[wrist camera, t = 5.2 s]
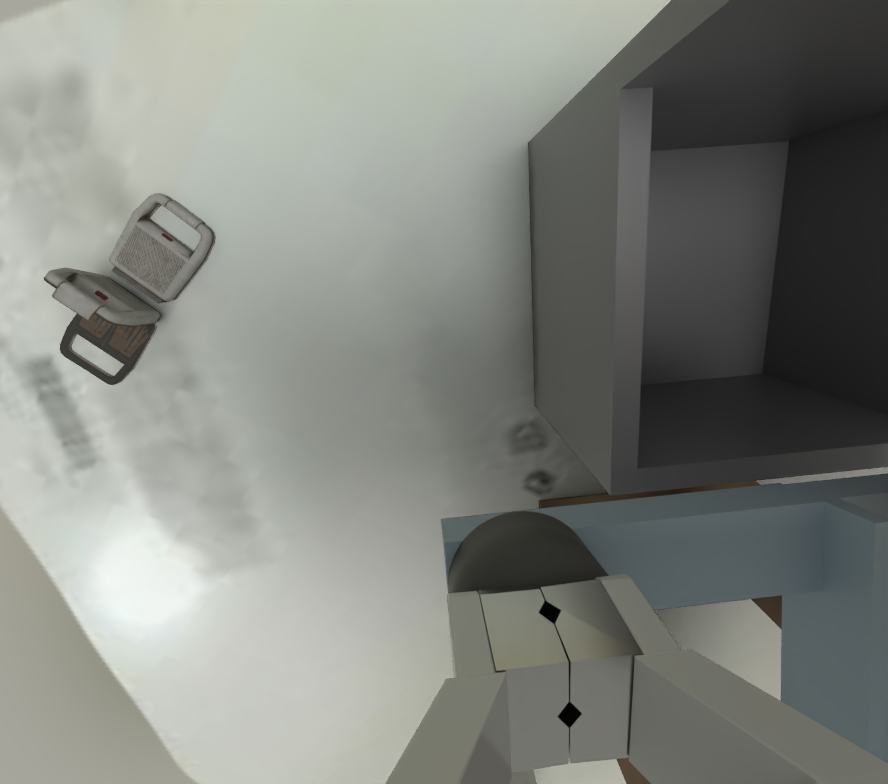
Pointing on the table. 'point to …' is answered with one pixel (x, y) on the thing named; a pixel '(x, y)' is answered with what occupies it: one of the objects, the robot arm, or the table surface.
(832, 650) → the lever
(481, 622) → the robot arm
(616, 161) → the bin
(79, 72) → the table surface
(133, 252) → the grey hinged case
